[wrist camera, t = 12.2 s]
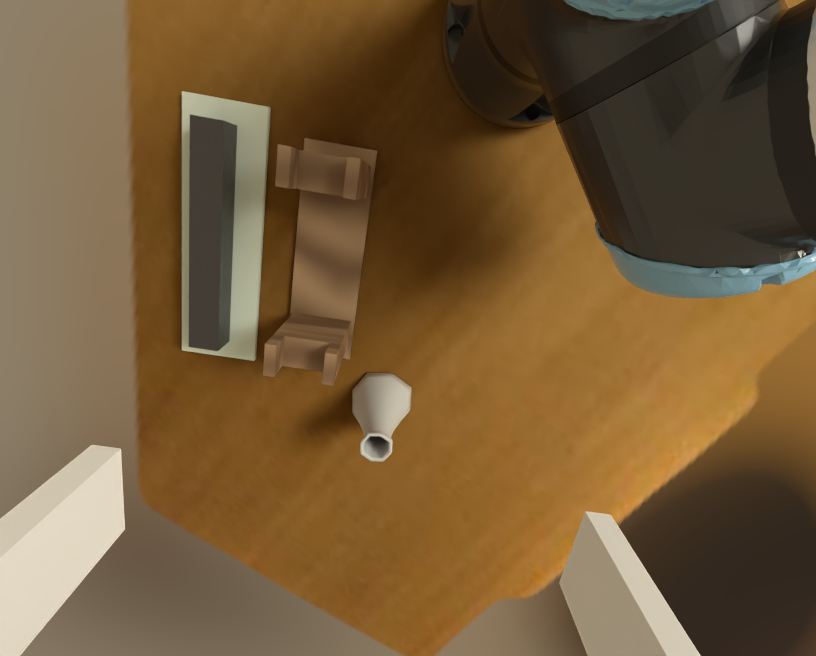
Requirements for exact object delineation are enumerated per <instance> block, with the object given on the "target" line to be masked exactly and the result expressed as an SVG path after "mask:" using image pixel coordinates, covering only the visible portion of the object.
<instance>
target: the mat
mask: <svg viewBox="0 0 816 656" xmlns="http://www.w3.org/2000/svg"><path fill="white" fill-rule="evenodd" d="M270 112H271V108H270V107H267V106H261V105H256V104H250V103H245V102H239V101H234V100H228V99H223V98H217V97H212V96H206V95H201V94H195V93H190V92H184V91H182V350H183V351H190V352H197V353H203V354H210V355H217V356H224V357H231V358H237V359H244V360H251V361H255V360H256V351H257V334H258V317H259V300H260V283H261V266H262V249H263V232H264V215H265V198H266V181H267V164H268V146H269V129H270ZM190 115H196V116H201V117H207V118H213V119H218V120H224V121H227V122H229V123H232V124H234V125H237V148H236V176H235V203H234V230H233V257H232V284H231V311H230V338H229V342H228V343H227V344H226V345H225V346H223V347H222V348H221V349H220V350H219V351H213V350H206V349H199V348H193V347H189V155H190Z"/></svg>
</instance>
